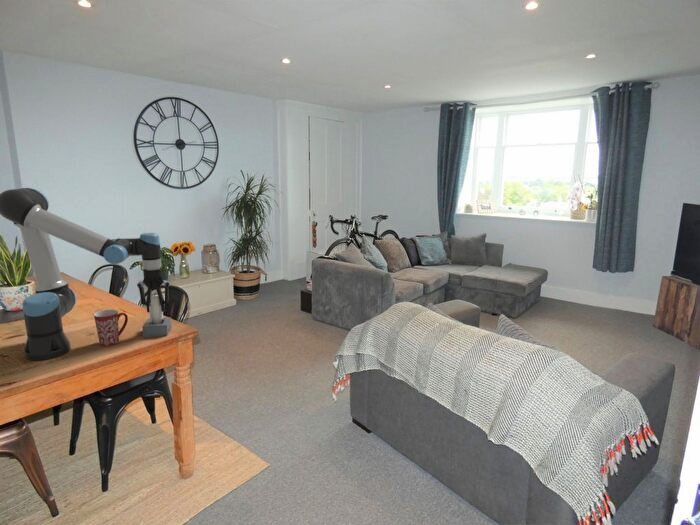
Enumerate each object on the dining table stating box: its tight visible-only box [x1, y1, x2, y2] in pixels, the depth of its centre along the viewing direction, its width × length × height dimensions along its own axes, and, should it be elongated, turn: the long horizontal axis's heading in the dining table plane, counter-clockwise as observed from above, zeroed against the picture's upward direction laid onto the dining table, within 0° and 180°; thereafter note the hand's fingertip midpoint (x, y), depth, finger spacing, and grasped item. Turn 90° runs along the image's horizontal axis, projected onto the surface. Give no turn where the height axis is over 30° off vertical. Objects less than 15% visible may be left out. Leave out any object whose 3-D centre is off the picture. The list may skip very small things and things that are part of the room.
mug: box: [92, 309, 129, 347], centre depth 179 cm, size 13×9×14 cm
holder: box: [141, 317, 173, 338], centre depth 191 cm, size 10×10×5 cm
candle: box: [150, 294, 162, 324], centre depth 189 cm, size 4×4×15 cm
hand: (156, 318), depth 190 cm, fingers closed on candle, 3 cm apart
